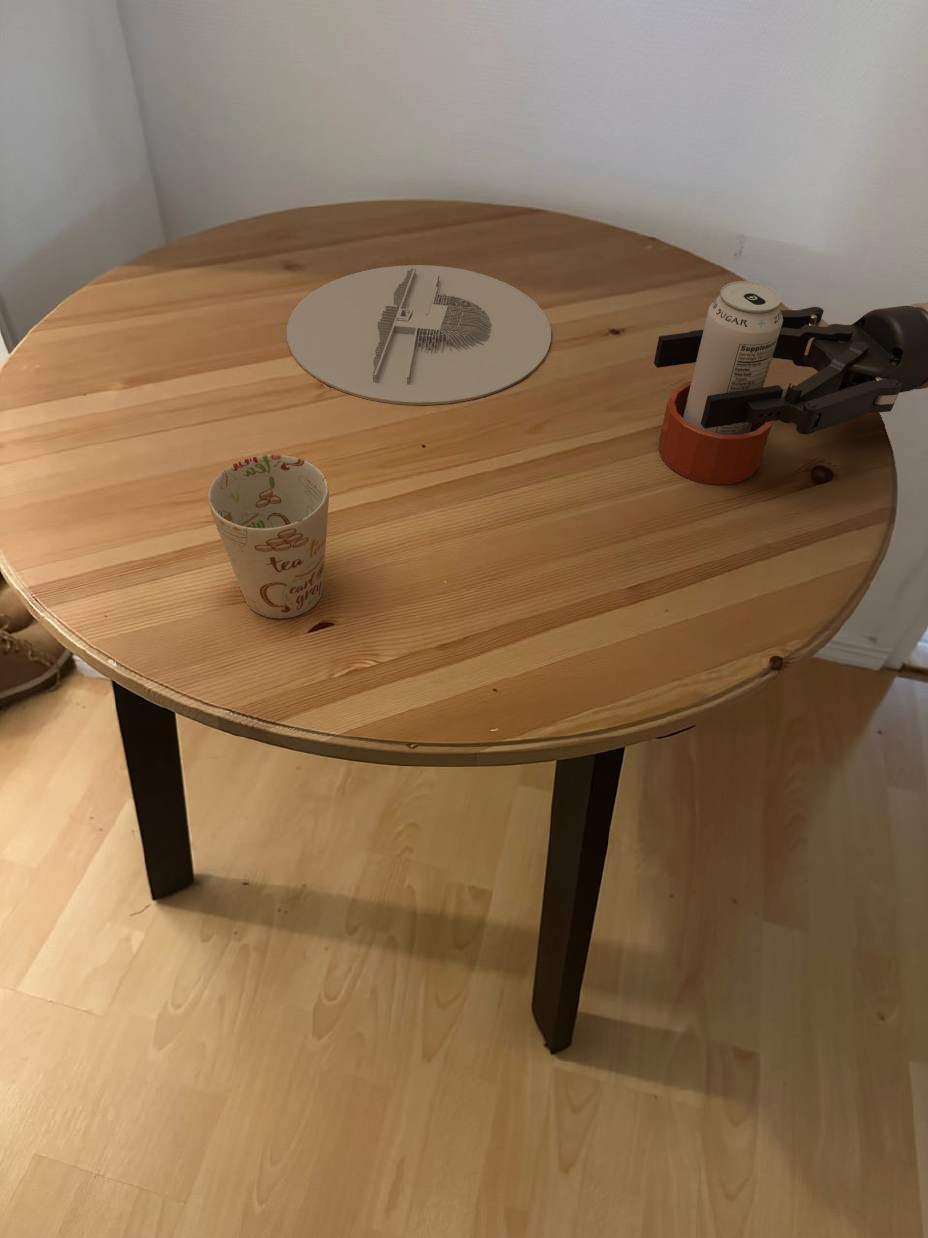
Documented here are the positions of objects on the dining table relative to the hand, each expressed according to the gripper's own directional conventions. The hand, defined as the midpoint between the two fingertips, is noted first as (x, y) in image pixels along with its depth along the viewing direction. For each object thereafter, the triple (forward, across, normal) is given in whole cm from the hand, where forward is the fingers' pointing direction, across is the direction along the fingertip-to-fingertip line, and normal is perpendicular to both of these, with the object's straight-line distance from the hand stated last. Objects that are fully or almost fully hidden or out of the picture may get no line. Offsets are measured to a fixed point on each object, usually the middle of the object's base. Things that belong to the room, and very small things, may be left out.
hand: (681, 380), depth 81 cm
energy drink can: (-5, 0, -8) cm, 9 cm away
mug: (+36, -6, -9) cm, 37 cm away
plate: (+16, +27, -9) cm, 33 cm away
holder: (-5, 0, -8) cm, 10 cm away
